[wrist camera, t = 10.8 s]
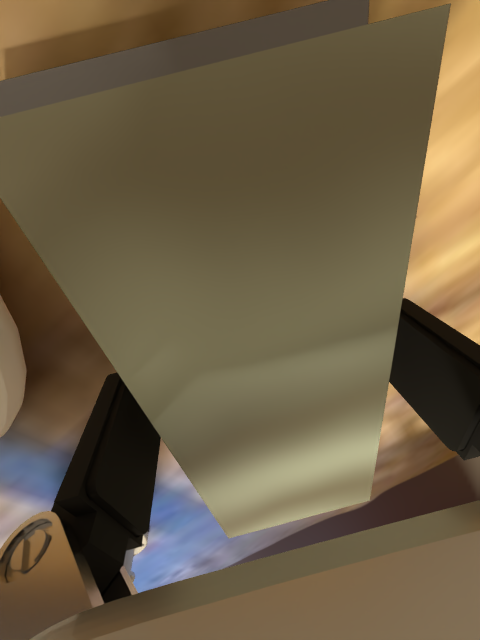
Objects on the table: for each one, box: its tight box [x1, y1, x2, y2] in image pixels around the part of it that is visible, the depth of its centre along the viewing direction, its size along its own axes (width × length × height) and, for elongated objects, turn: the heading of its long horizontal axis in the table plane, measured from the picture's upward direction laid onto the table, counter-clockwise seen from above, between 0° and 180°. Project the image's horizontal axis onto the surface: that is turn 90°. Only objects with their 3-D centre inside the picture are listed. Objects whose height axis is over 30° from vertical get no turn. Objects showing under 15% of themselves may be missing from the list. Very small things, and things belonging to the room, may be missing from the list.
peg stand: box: [0, 0, 369, 117], centre depth 15 cm, size 22×16×6 cm
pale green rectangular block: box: [0, 3, 451, 538], centre depth 10 cm, size 16×7×5 cm, turn 12°
